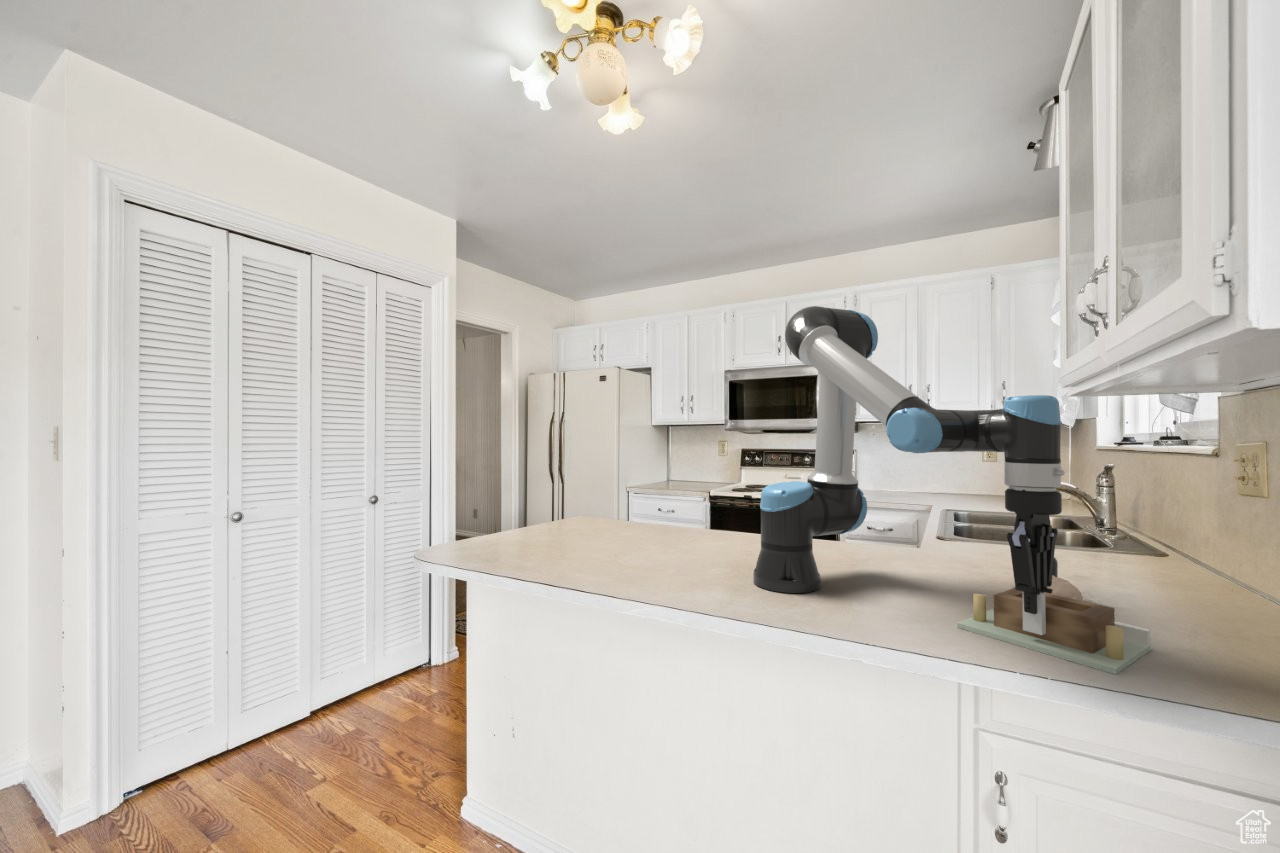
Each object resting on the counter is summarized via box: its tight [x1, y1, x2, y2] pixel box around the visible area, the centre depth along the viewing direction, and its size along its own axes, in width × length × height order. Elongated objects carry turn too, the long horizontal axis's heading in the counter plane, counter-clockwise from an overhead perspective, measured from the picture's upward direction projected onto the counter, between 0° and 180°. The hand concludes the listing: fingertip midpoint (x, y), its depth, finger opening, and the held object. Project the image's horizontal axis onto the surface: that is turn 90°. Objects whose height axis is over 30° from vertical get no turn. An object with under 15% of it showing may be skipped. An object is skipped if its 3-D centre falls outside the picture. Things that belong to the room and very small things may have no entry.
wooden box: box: [993, 587, 1116, 654], centre depth 90 cm, size 14×9×6 cm, turn 32°
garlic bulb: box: [1044, 575, 1084, 601], centre depth 103 cm, size 7×6×8 cm
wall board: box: [956, 593, 1152, 675], centre depth 90 cm, size 22×16×5 cm
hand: (1034, 631), depth 86 cm, fingers closed
